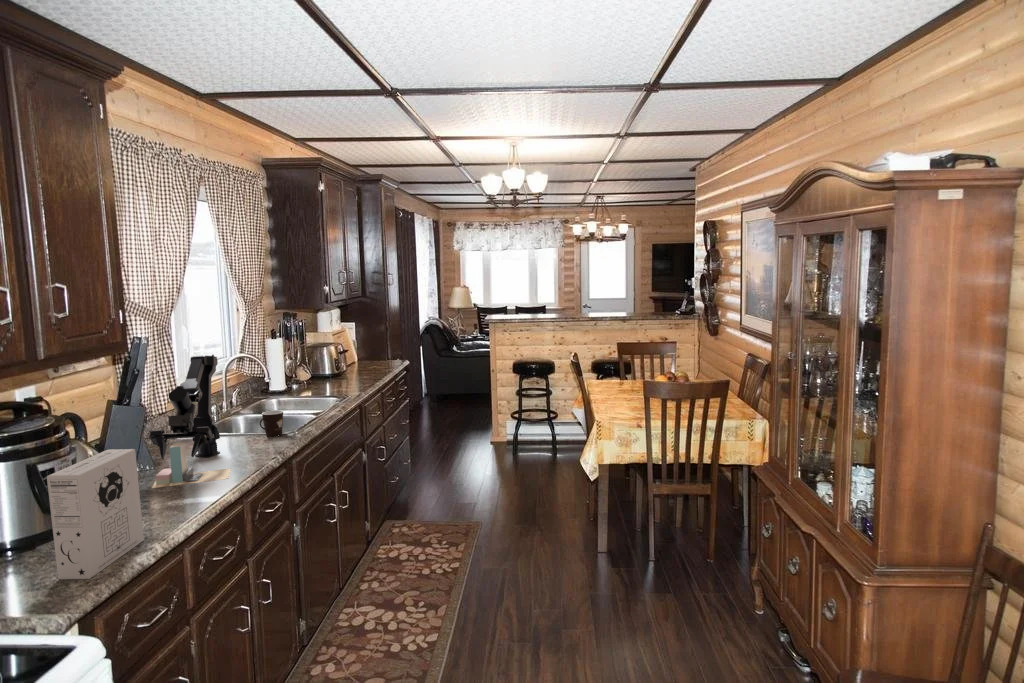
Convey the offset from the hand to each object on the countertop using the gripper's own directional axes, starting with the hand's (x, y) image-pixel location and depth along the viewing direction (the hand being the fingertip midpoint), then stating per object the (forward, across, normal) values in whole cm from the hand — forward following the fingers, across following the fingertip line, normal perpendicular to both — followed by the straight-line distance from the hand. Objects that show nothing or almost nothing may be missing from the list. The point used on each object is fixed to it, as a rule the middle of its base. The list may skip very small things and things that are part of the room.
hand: (177, 457), depth 217 cm
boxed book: (+5, 0, +6) cm, 8 cm away
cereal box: (+47, -1, -34) cm, 58 cm away
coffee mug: (-35, +19, +48) cm, 62 cm away
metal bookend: (+5, +4, +7) cm, 9 cm away
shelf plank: (+5, +4, +8) cm, 10 cm away
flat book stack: (+5, -4, +7) cm, 9 cm away
